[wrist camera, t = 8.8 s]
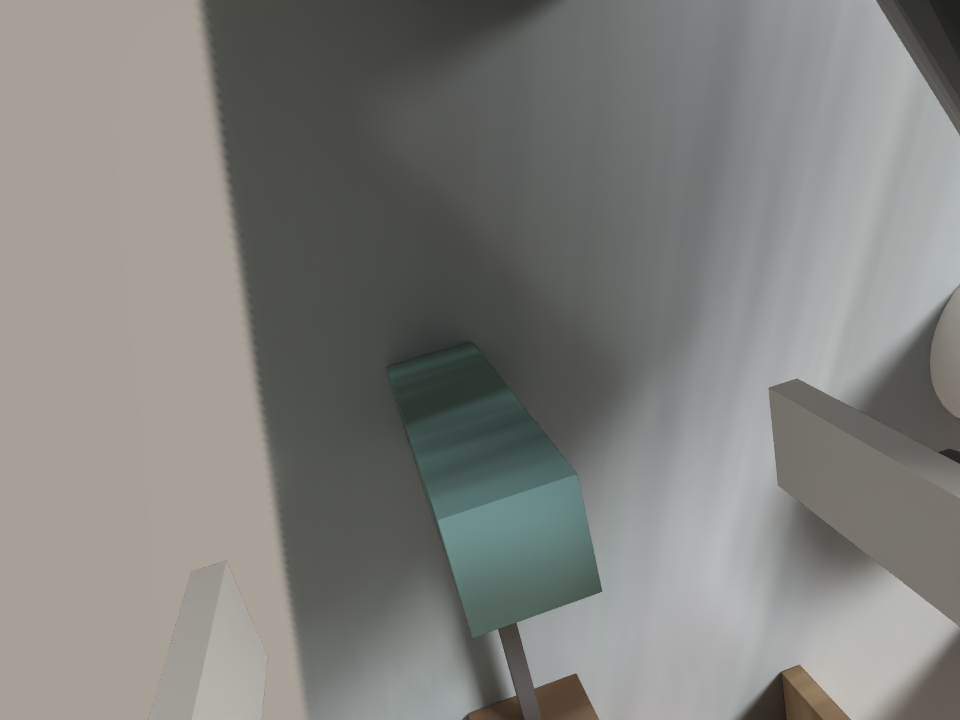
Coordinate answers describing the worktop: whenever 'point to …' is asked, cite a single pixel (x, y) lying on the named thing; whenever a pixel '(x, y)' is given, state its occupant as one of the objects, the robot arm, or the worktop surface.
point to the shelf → (807, 698)
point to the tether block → (499, 513)
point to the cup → (947, 356)
